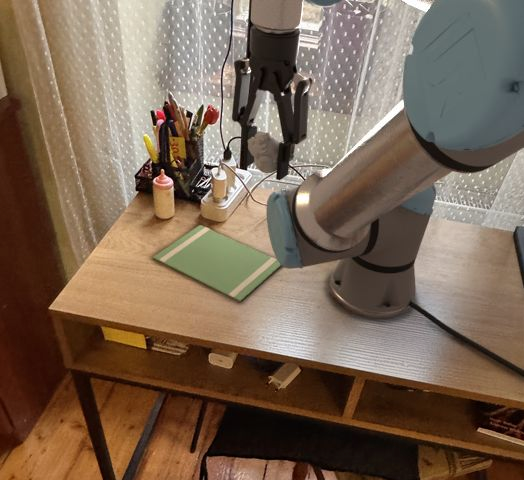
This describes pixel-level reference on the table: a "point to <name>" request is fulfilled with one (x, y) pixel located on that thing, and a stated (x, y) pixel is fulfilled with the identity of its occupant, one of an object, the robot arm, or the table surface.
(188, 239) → the tea towel
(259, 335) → the table surface
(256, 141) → the grey lumpy lump
